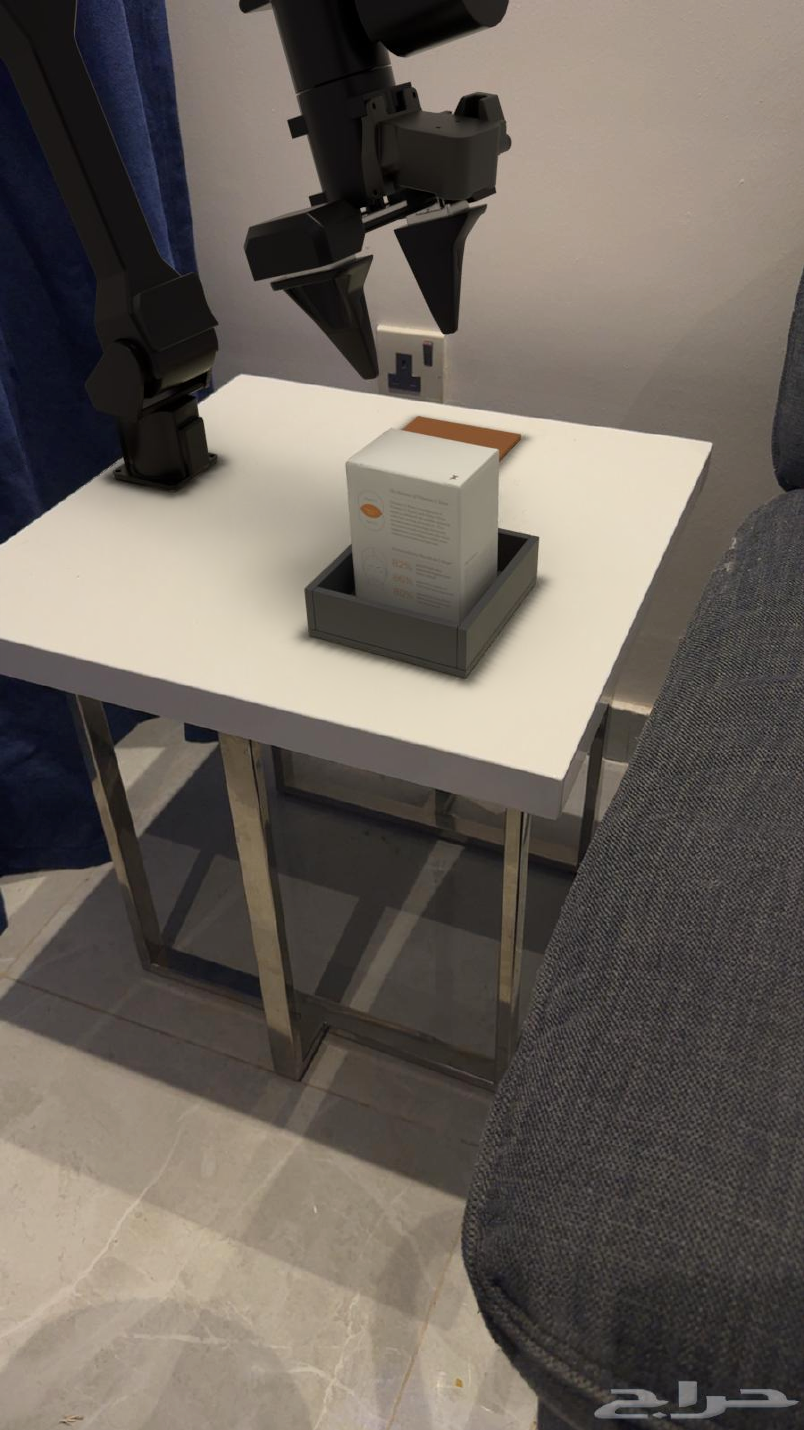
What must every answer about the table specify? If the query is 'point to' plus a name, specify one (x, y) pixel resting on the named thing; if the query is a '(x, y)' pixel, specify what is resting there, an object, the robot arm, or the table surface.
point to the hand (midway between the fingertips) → (412, 355)
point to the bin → (417, 633)
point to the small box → (424, 522)
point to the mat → (464, 434)
